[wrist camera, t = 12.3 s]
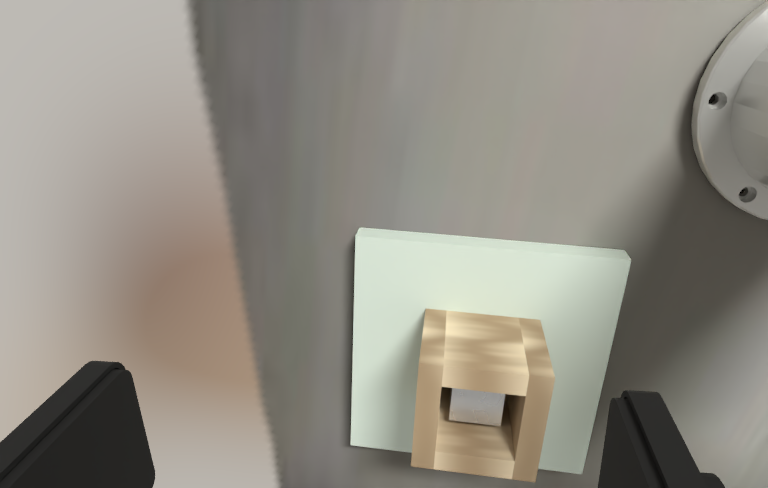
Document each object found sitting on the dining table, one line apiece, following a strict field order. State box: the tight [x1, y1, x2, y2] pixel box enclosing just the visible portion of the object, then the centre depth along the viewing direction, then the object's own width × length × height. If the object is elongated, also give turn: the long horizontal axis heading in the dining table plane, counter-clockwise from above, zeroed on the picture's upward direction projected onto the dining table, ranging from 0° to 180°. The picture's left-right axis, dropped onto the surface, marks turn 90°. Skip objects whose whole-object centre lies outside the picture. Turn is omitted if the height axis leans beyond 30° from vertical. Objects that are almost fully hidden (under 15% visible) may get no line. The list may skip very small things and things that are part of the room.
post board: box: [351, 227, 631, 474], centre depth 35 cm, size 16×16×6 cm
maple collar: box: [411, 309, 555, 482], centre depth 33 cm, size 7×7×6 cm
